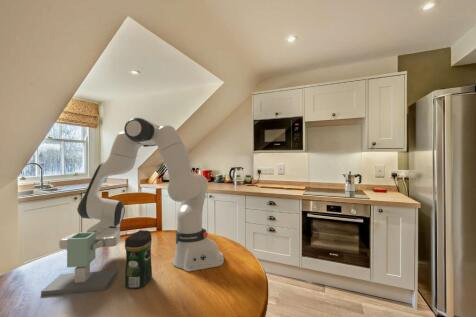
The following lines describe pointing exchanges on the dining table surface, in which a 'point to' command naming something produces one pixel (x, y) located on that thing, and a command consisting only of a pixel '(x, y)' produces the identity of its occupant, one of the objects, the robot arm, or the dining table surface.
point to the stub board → (80, 287)
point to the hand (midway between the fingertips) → (80, 248)
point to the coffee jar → (138, 259)
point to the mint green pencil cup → (80, 249)
